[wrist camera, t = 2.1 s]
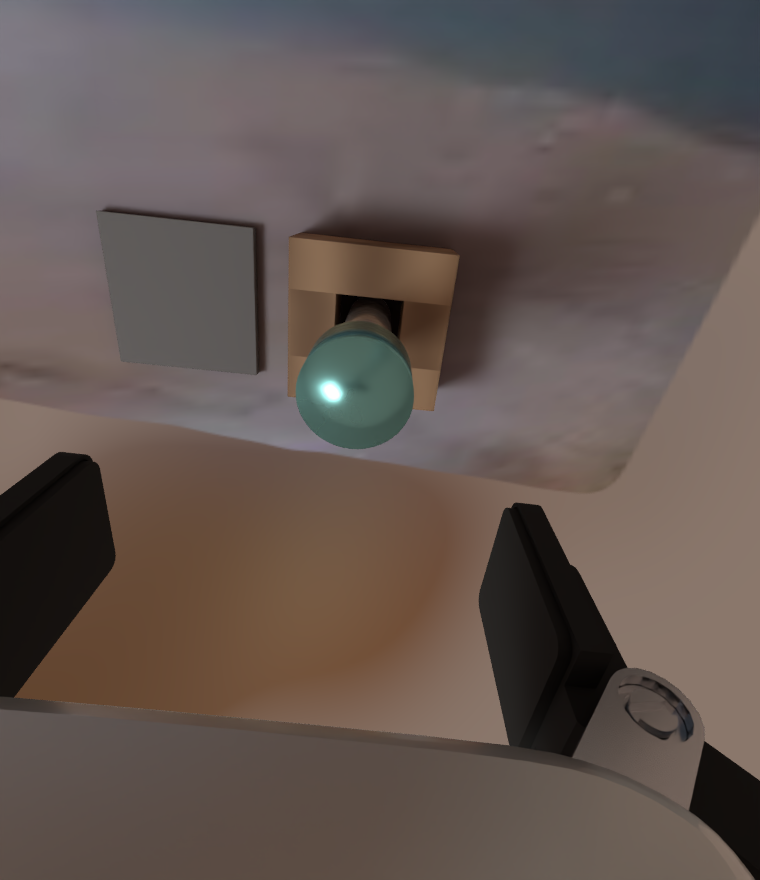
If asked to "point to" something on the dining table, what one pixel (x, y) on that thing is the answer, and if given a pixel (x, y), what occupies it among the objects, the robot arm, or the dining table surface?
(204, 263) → the rubber pad
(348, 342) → the teal capped rod
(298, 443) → the dining table surface
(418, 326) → the eye block
